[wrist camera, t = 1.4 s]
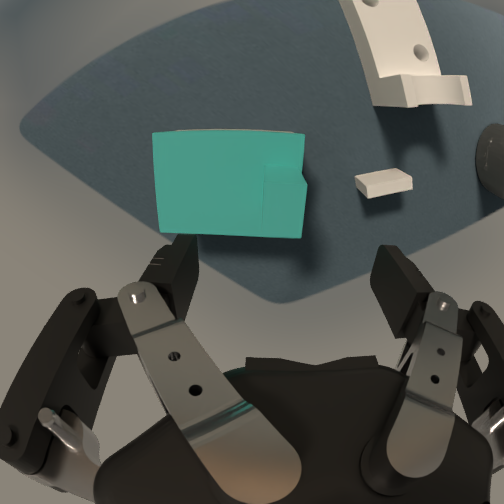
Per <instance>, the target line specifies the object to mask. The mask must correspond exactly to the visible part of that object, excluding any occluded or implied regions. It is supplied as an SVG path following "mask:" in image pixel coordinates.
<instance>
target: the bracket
mask: <svg viewBox="0 0 504 504" xmlns="http://www.w3.org/2000/svg"><path fill="white" fill-rule="evenodd" d="M338 1H339V3H340V5H341V8H342V10H343V12H344V15H345V17H346V20H347V22H348V25H349V28H350V30H351V33H352V36H353V39H354V42H355V45H356V48H357V51H358V54H359V57H360V60H361V63H362V67H363V70H364V73H365V77H366V81H367V84H368V88H369V92H370V96H371V100H372V104H373V106H391V107H406V108H409V107H418V105H421V104H458V105H472V100H471V94H470V89H469V84H468V79H467V76H463V75H441V72H440V68H439V65H438V61H437V57H436V54H435V50H434V47H433V44H432V41H431V38H430V35H429V32H428V29H427V26H426V24H425V21H424V18H423V16H422V13H421V11H420V8H419V6H418V4H417V1H416V0H338Z"/></svg>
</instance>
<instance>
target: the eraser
mask: <svg viewBox="0 0 504 504" xmlns="http://www.w3.org/2000/svg"><path fill="white" fill-rule="evenodd" d="M355 182H356V187H357V188H358V189H359V190H360V191H361V192H362V193H363V194H364V195H365V196H366V197H367V198H368V199H369V198H373V197H378V196H382V195H387V194H392V193H396V192H401V191H406V190H411V189H413V187H412V177H411V176H409V175H408V174H406V173H404V172H402V171H401V170H399V169H397V168H393V169H387V170H382V171H377V172H372V173H367V174H362V175H357V176H355Z"/></svg>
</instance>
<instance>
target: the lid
mask: <svg viewBox="0 0 504 504" xmlns="http://www.w3.org/2000/svg"><path fill="white" fill-rule="evenodd" d="M152 138H153V159H154V175H155V188H156V199H157V209H158V219H159V228H160V232H168V233H193V234H215V235H236V236H256V237H274V238H292V239H295V238H301V235H302V227H303V219H304V211H305V202H306V193H307V183H306V181H305V179H304V178H303V176H302V166H303V154H304V142H305V134H299V133H287V132H272V131H252V130H188V131H168V132H155V133H152Z"/></svg>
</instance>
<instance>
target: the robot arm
mask: <svg viewBox="0 0 504 504" xmlns="http://www.w3.org/2000/svg"><path fill="white" fill-rule="evenodd" d="M476 167H477V173H478V176H479V179H480V181H481V183H482V185H483V186H484V187H485V188H486V189H487V190H488V191H490V192H492V193H493V194H495V195H497V196H498V197H500V198H502V199H503V200H504V125H500V124H491V125H489V126H488V127H487V128H486V129H485V130H484V131H483V133H482V134H481V136H480V139H479V142H478V146H477V151H476ZM198 276H199V260H198V246H197V236H196V235H195V234H178V235H177V237H176V238H175V240H174V242H173V243H172V245H165V246H163V247H162V248H161V249H159V250H158V251H157V253H156V254H155V255H154V257H153V259H152V260H151V262H150V264H149V265H148V267H147V268H146V270H145V271H144V273H143V275H142V276H141V278H140V280H139V281H138V282H133V283H130V284H128V285H126V286H125V287H123V288H122V289H121V290H120V291H119V293H118V296H117V297H115V298H107V299H97V296H96V293H95V291H93V290H92V289H90V288H79V289H75V290H73V291H71V292H70V293H68V294H67V295H66V296H65V297H64V298H63V300H62V301H61V302H60V304H59V305H58V307H57V308H56V310H55V311H54V313H53V314H52V316H51V317H50V319H49V320H48V322H47V323H46V325H45V326H44V328H43V330H42V331H41V333H40V334H39V336H38V338H37V339H36V341H35V343H34V344H33V346H32V348H31V349H30V351H29V353H28V355H27V356H26V358H25V360H24V362H23V363H22V365H21V367H20V369H19V371H18V373H17V375H16V377H15V379H14V380H13V382H12V384H11V386H10V388H9V391H8V393H7V395H6V397H5V399H4V402H3V403H2V406H1V408H0V459H2V460H4V461H5V462H6V463H8V464H10V465H11V466H13V467H14V468H16V469H17V470H18V471H19V472H21V473H22V474H24V475H26V476H28V477H29V478H31V479H33V480H35V481H37V482H39V483H41V484H43V485H45V486H49V487H51V488H53V489H55V490H57V491H60V492H70V493H72V494H74V495H77V496H79V497H81V498H84V499H86V500H89V501H92V502H94V503H95V504H490V486H491V477H492V474H494V473H496V472H497V471H499V470H501V469H502V468H504V324H503V323H502V322H501V320H500V318H499V317H498V315H497V314H496V313H495V311H494V310H493V309H492V308H491V307H490V306H489V305H488V304H486V303H484V302H481V301H475V302H474V303H473V304H472V306H471V308H470V310H469V311H468V310H463V309H459V308H458V305H457V303H456V301H455V300H454V299H453V298H452V297H450V296H449V295H447V294H445V293H443V292H437V291H434V289H433V288H432V287H431V285H430V284H429V283H428V281H427V280H426V279H425V277H424V276H423V275H422V273H421V272H420V271H419V269H418V268H417V267H416V265H415V264H414V263H413V262H411V261H410V260H409V259H408V258H406V257H405V256H404V254H403V253H402V252H401V251H400V249H399V248H398V247H397V246H393V245H380V246H379V248H378V251H377V255H376V258H375V262H374V265H373V269H372V272H371V276H370V285H371V288H372V290H373V292H374V294H375V296H376V298H377V300H378V302H379V304H380V306H381V308H382V311H383V313H384V315H385V317H386V319H387V321H388V324H389V326H390V328H391V330H392V332H393V334H394V337H395V339H397V338H407V341H406V343H405V344H404V346H403V349H402V352H401V354H400V357H399V359H398V362H397V365H396V367H395V369H392V368H390V367H386V366H382V365H378V362H377V359H376V356H375V355H374V356H360V357H346V358H343V359H339V360H336V361H332V362H328V363H324V364H320V365H310V364H305V363H300V362H295V361H290V360H285V359H281V358H280V359H279V358H253V357H246V364H245V365H246V366H245V367H241V368H237V369H233V370H230V371H227V372H224V373H222V372H221V371H220V370H219V368H218V367H217V366H216V365H215V363H214V362H213V360H212V359H211V358H210V356H209V355H208V354H207V353H206V351H205V350H204V348H203V347H202V346H201V344H200V343H199V341H198V340H197V339H196V337H195V336H194V334H193V333H192V332H191V330H190V329H189V327H188V326H187V324H186V323H185V318H186V315H187V312H188V309H189V306H190V302H191V299H192V296H193V293H194V290H195V287H196V284H197V281H198ZM481 344H482V346H483V347H484V349H485V351H486V353H487V355H488V358H489V364H488V367H487V369H486V370H485V371H484V372H483V374H482V372H481V369H480V367H479V365H478V363H477V361H476V359H475V357H474V354H475V353H476V351H477V350H478V348H479V347H480V345H481ZM132 354H137V355H138V357H139V360H140V362H141V364H142V366H143V368H144V371H145V373H146V375H147V377H148V379H149V381H150V383H151V385H152V387H153V389H154V391H155V393H156V395H157V397H158V399H159V401H160V403H161V405H162V407H163V409H164V411H165V413H166V414H167V415H166V416H165V417H164V418H162V419H161V420H160V421H158V422H157V423H156V424H154V425H153V426H152V427H150V428H149V429H148V430H146V431H145V432H144V433H142V434H141V435H140V436H138V437H137V438H136V439H134V440H133V441H131V442H130V443H128V444H127V445H126V446H124V447H123V448H121V449H120V450H119V451H117V452H116V453H114V454H113V455H111V456H110V457H109V458H107V459H106V460H105V461H104V462H103V464H101V462H100V459H99V448H100V447H99V441H98V439H97V437H96V435H95V434H94V433H93V432H92V428H93V424H94V421H95V418H96V415H97V411H98V408H99V405H100V402H101V399H102V396H103V393H104V390H105V387H106V384H107V381H108V379H109V376H110V373H111V370H112V368H113V365H114V362H115V360H116V357H117V356H122V355H132ZM456 388H457V391H458V394H459V396H460V399H461V402H462V405H463V408H464V410H465V413H466V416H467V419H468V423H469V424H468V423H467V422H465V421H464V420H463V419H462V418H460V417H459V416H458V415H456V414H455V413H454V412H453V411H452V407H453V402H454V397H455V392H456Z"/></svg>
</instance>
